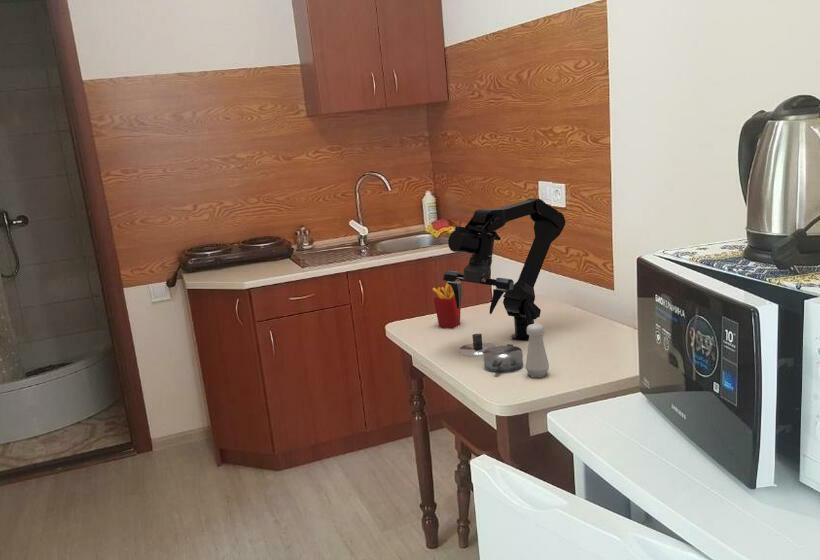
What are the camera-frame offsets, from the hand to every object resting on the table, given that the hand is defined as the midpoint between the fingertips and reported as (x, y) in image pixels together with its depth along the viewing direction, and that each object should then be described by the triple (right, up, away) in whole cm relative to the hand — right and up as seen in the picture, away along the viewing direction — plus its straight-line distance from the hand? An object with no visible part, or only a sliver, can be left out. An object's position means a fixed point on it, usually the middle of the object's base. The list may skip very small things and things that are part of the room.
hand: (474, 311), depth 198 cm
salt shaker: (+14, -15, -18) cm, 27 cm away
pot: (+7, -14, -9) cm, 18 cm away
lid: (+2, -12, +5) cm, 13 cm away
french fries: (-4, -6, +31) cm, 32 cm away
